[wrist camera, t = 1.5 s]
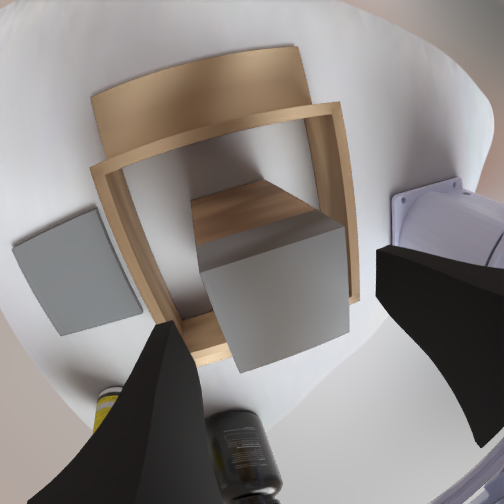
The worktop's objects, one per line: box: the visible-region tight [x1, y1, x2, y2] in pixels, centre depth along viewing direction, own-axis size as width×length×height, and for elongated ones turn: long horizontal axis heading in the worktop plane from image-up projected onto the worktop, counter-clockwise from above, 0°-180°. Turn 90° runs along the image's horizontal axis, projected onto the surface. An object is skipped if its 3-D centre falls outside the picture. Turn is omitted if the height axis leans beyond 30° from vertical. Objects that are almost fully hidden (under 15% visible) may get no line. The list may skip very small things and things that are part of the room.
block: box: [191, 179, 349, 373], centre depth 13 cm, size 4×4×9 cm
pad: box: [12, 208, 143, 336], centre depth 15 cm, size 8×8×1 cm
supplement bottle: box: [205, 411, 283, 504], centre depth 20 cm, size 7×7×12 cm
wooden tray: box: [90, 46, 360, 367], centre depth 15 cm, size 12×20×4 cm, turn 13°
